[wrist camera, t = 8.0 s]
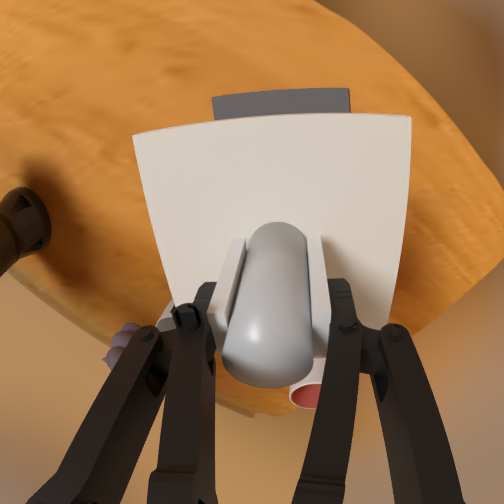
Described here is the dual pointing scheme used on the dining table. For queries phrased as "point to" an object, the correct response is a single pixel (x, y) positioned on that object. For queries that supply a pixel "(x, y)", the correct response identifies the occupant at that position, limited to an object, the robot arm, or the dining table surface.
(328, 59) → the dining table surface
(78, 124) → the dining table surface
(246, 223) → the lid
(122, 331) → the cat figurine
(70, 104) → the dining table surface
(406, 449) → the robot arm
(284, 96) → the mat
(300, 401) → the cup
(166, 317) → the cup
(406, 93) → the dining table surface
